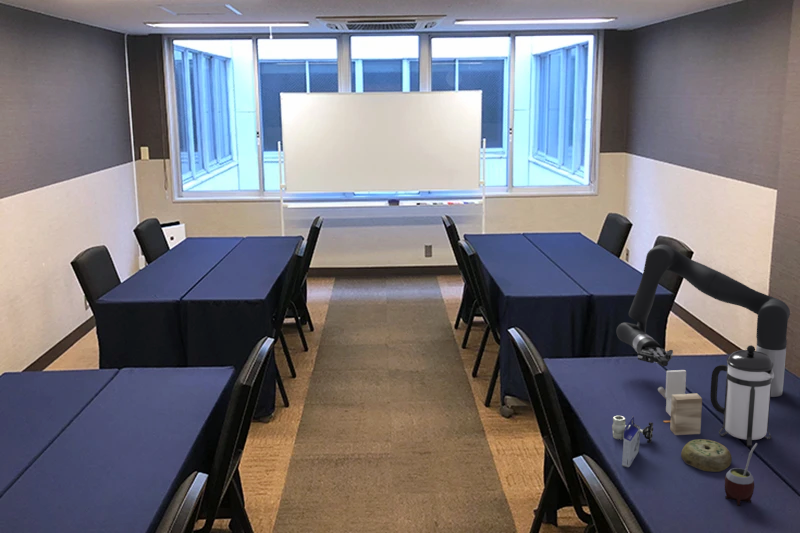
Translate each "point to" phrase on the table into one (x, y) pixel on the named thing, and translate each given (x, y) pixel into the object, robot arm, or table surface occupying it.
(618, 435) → the valve
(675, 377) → the white upright panel
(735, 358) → the coffee press
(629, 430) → the ink box
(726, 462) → the weight
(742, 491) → the mate gourd
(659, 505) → the table surface
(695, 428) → the rod stand
